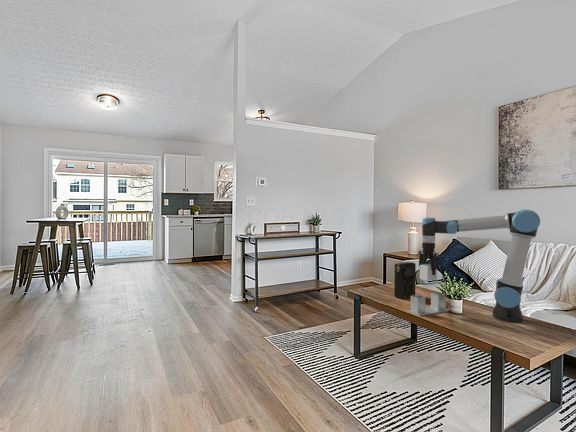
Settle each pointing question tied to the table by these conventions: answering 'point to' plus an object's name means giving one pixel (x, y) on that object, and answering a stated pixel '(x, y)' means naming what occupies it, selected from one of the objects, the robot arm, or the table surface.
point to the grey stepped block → (420, 309)
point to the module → (426, 272)
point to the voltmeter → (404, 280)
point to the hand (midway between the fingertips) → (428, 278)
